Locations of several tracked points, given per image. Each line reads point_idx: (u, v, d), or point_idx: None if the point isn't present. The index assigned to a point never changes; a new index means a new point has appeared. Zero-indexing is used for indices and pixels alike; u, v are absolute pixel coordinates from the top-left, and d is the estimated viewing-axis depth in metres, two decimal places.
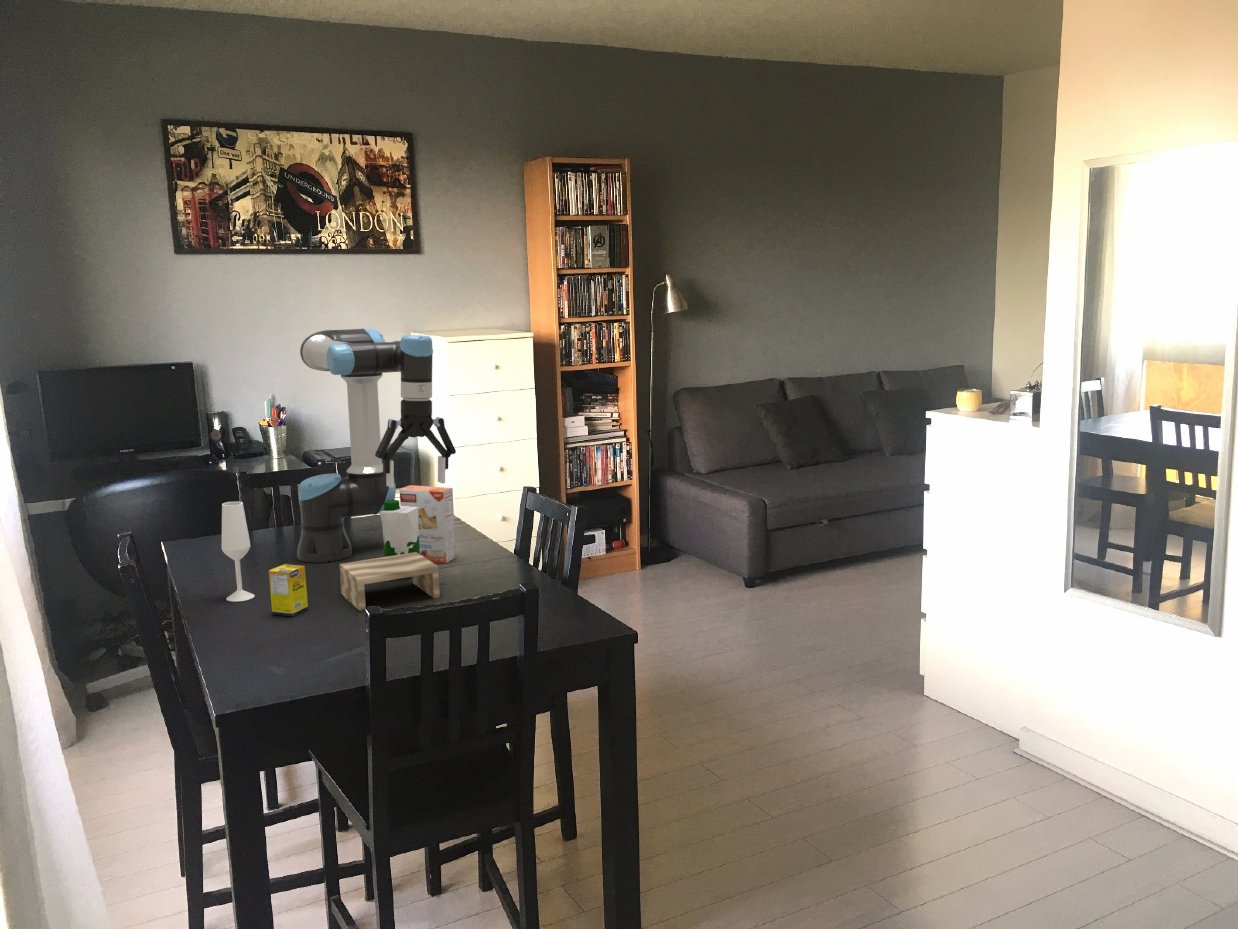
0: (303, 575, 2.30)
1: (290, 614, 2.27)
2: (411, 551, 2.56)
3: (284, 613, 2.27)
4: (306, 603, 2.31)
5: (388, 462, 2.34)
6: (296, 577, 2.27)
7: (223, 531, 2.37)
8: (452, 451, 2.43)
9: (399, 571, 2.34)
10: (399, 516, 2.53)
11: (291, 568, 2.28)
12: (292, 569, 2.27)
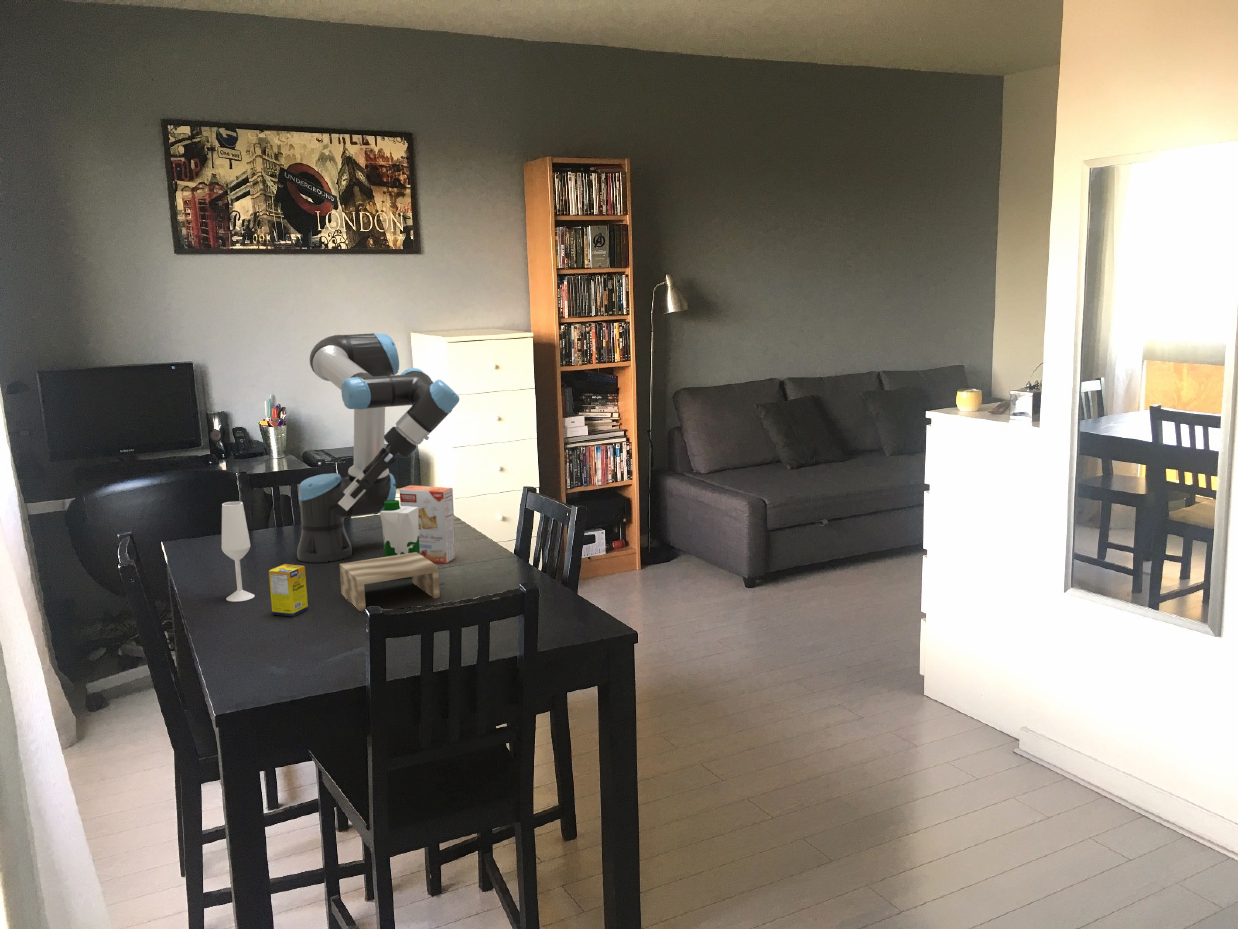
0: (303, 575, 2.30)
1: (290, 614, 2.27)
2: (411, 551, 2.56)
3: (284, 613, 2.27)
4: (306, 603, 2.31)
5: (362, 490, 2.23)
6: (296, 577, 2.27)
7: (223, 531, 2.37)
8: None
9: (399, 571, 2.34)
10: (399, 516, 2.53)
11: (291, 568, 2.28)
12: (292, 570, 2.27)
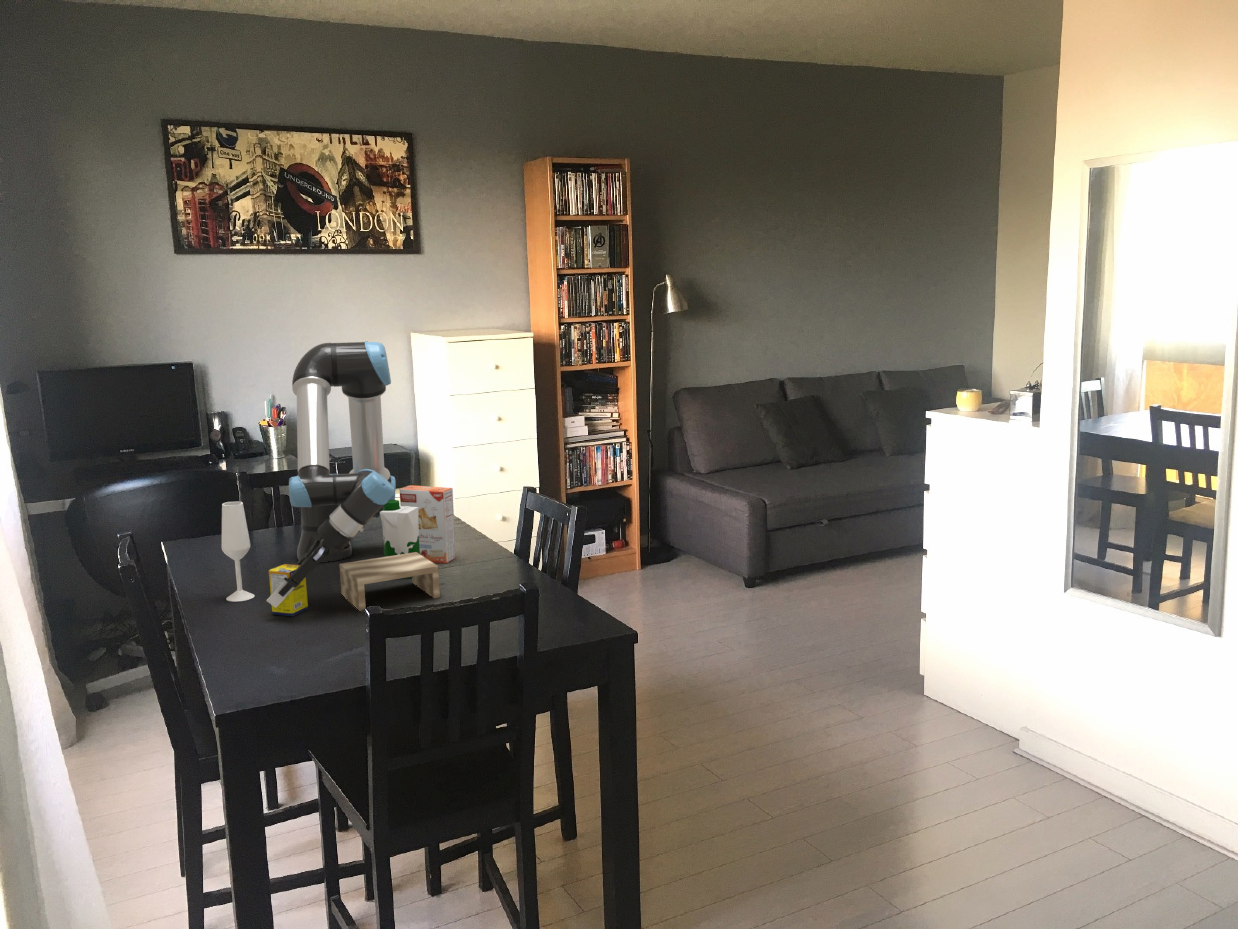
0: None
1: (290, 614, 2.27)
2: (411, 551, 2.56)
3: (284, 613, 2.27)
4: (306, 603, 2.31)
5: (291, 587, 2.24)
6: None
7: (223, 531, 2.37)
8: None
9: (399, 571, 2.34)
10: (399, 516, 2.53)
11: (291, 568, 2.28)
12: (292, 569, 2.27)
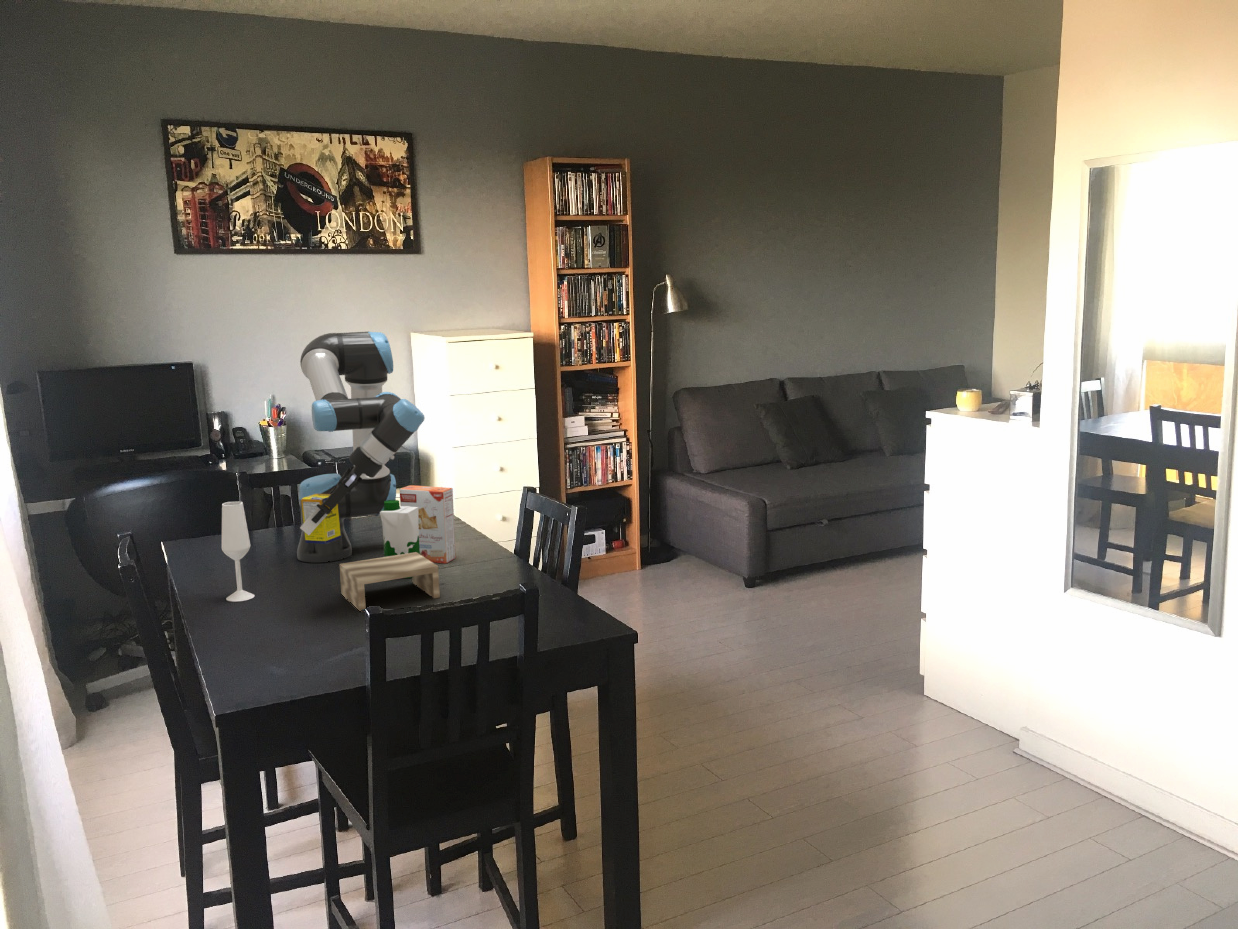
0: None
1: (323, 542, 2.27)
2: (411, 551, 2.56)
3: (317, 541, 2.27)
4: (339, 532, 2.31)
5: (324, 514, 2.24)
6: None
7: (223, 531, 2.37)
8: None
9: (399, 571, 2.34)
10: (399, 516, 2.53)
11: (323, 496, 2.28)
12: (324, 497, 2.27)
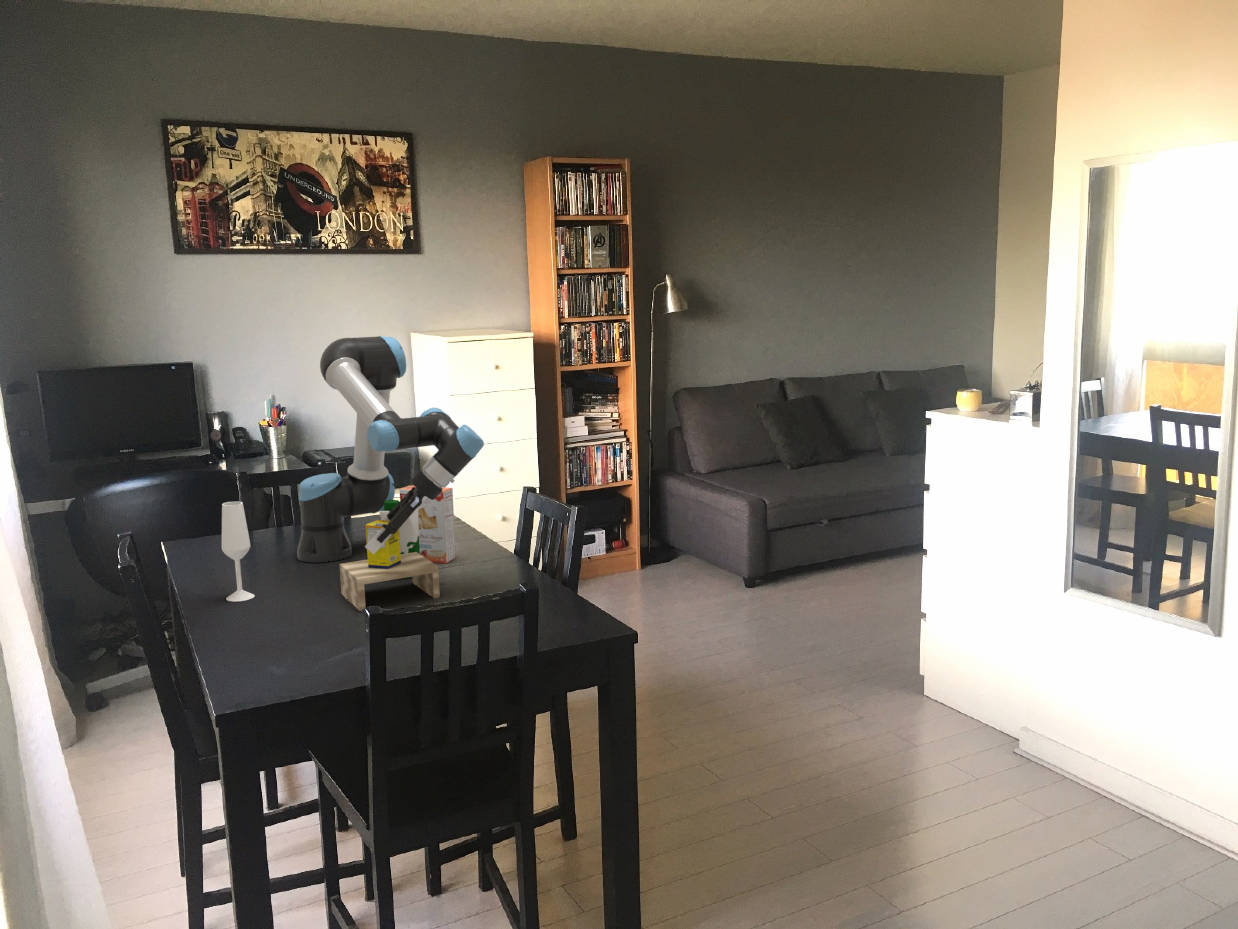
0: (397, 530, 2.39)
1: (386, 566, 2.36)
2: (411, 551, 2.56)
3: (380, 566, 2.37)
4: (399, 557, 2.41)
5: None
6: None
7: (223, 531, 2.37)
8: None
9: (399, 571, 2.34)
10: None
11: (386, 522, 2.37)
12: None
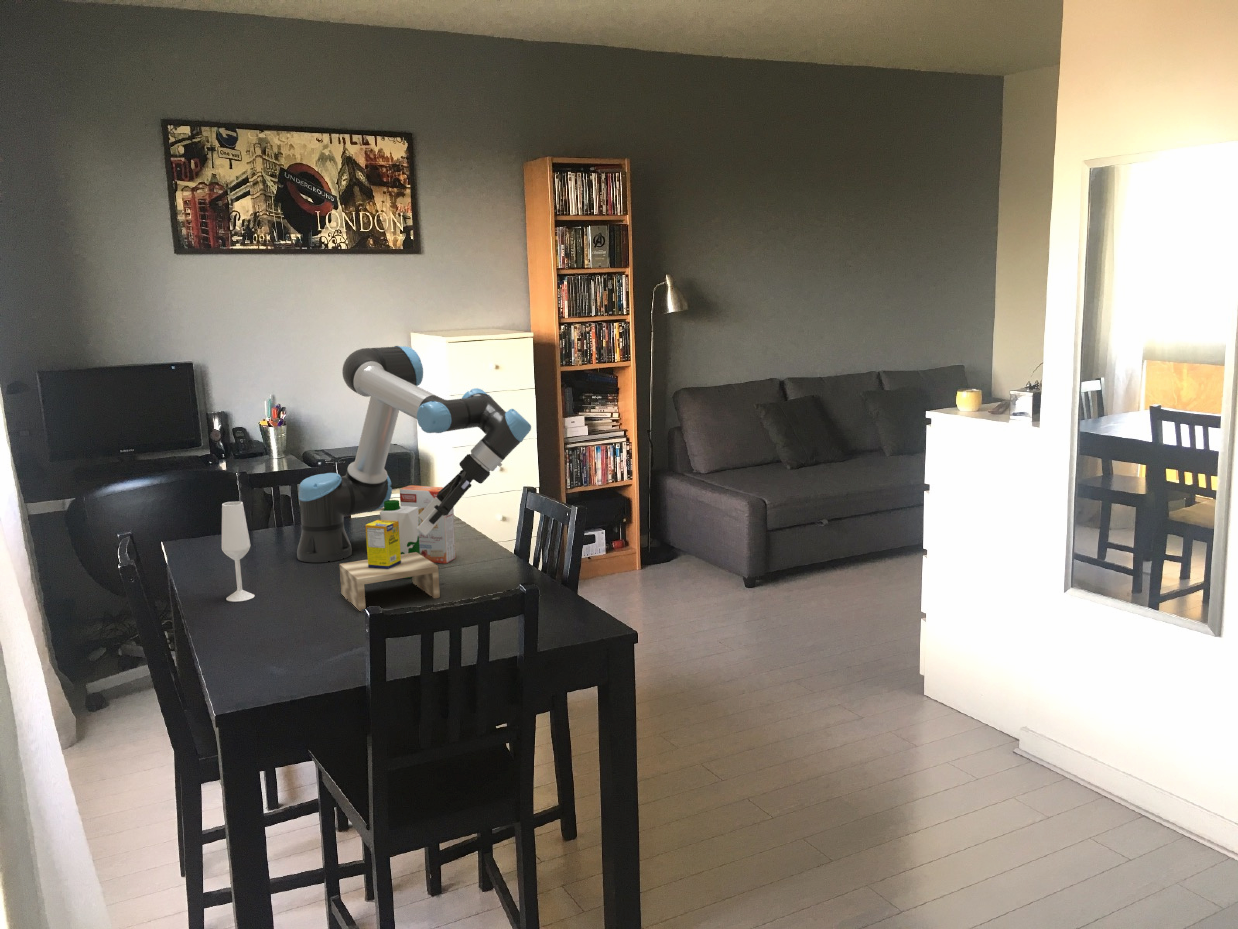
0: (397, 530, 2.39)
1: (386, 566, 2.36)
2: (411, 551, 2.56)
3: (380, 566, 2.37)
4: (399, 557, 2.41)
5: (441, 515, 2.32)
6: (391, 531, 2.37)
7: (223, 531, 2.37)
8: None
9: (399, 571, 2.34)
10: (399, 516, 2.53)
11: (386, 522, 2.37)
12: (388, 524, 2.36)
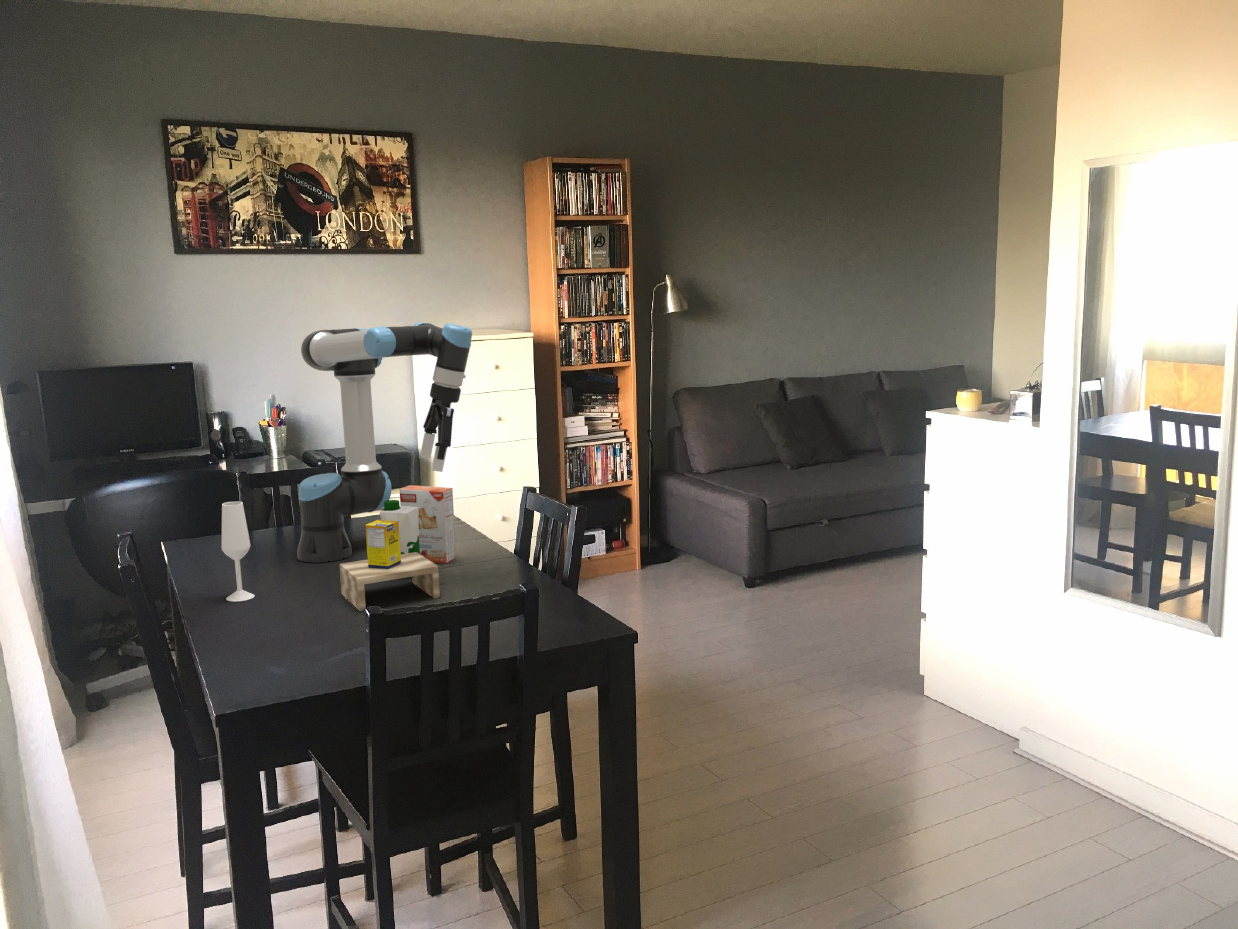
0: (397, 530, 2.39)
1: (386, 566, 2.36)
2: (411, 551, 2.56)
3: (380, 566, 2.37)
4: (399, 557, 2.41)
5: None
6: (391, 531, 2.37)
7: (223, 531, 2.37)
8: None
9: (399, 571, 2.34)
10: (399, 516, 2.53)
11: (386, 522, 2.37)
12: (388, 524, 2.36)
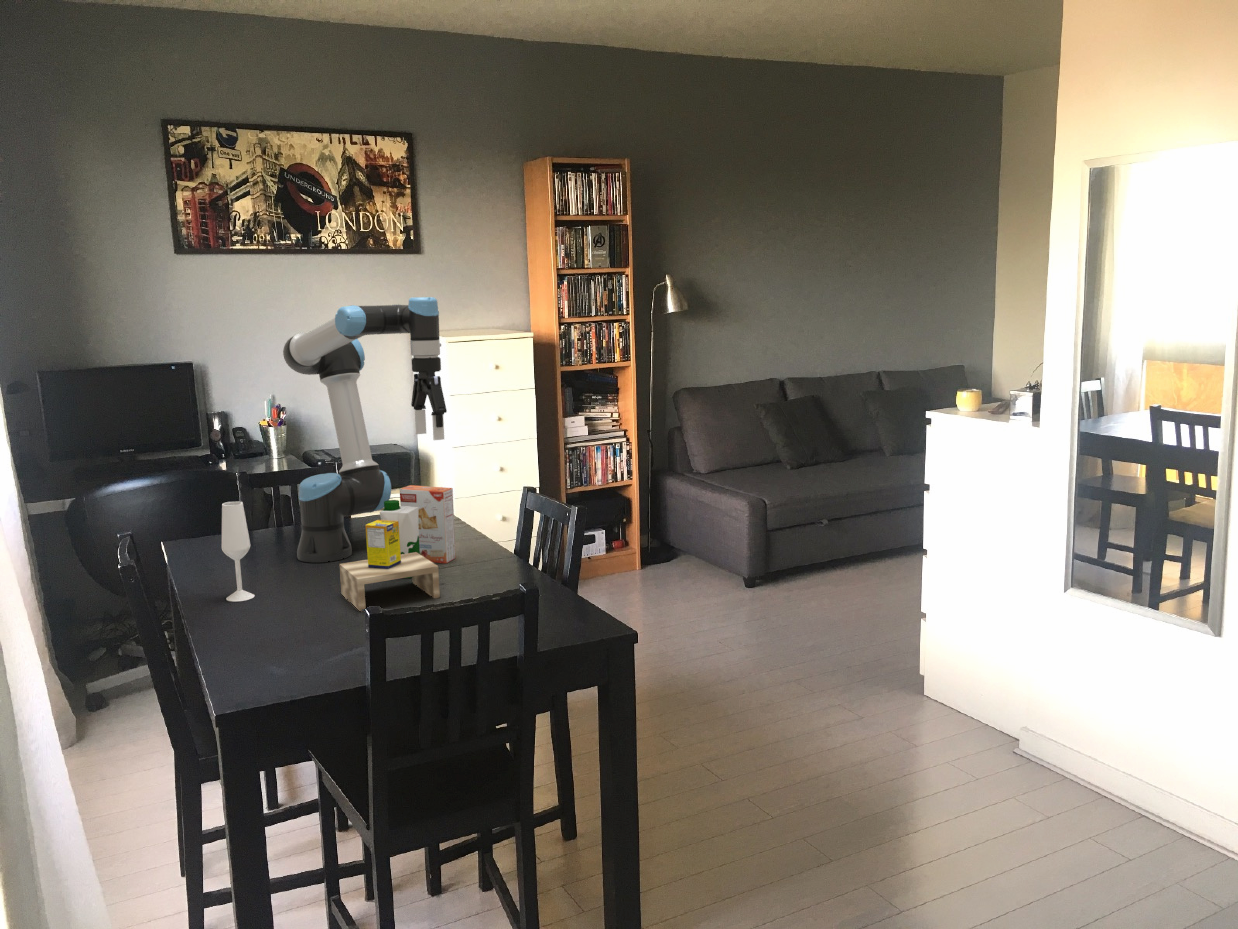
0: (397, 530, 2.39)
1: (386, 566, 2.36)
2: (411, 551, 2.56)
3: (380, 566, 2.37)
4: (399, 557, 2.41)
5: None
6: (391, 531, 2.37)
7: (223, 531, 2.37)
8: None
9: (399, 571, 2.34)
10: (399, 516, 2.53)
11: (386, 522, 2.37)
12: (388, 524, 2.36)
